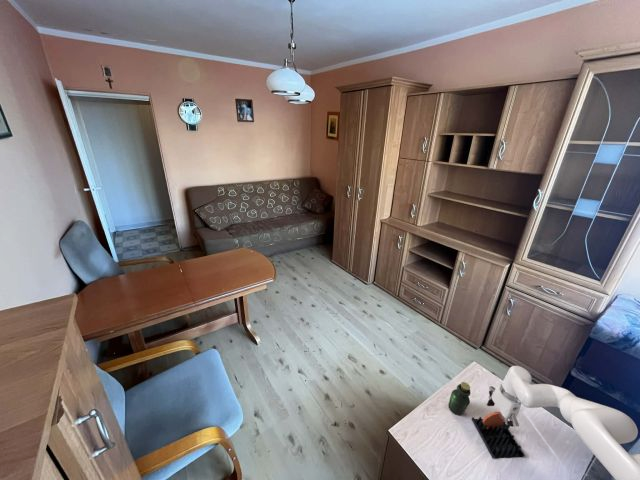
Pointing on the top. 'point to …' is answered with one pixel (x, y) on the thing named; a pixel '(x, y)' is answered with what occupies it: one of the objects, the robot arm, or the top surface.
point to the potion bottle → (460, 399)
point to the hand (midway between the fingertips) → (496, 416)
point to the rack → (498, 441)
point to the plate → (493, 420)
